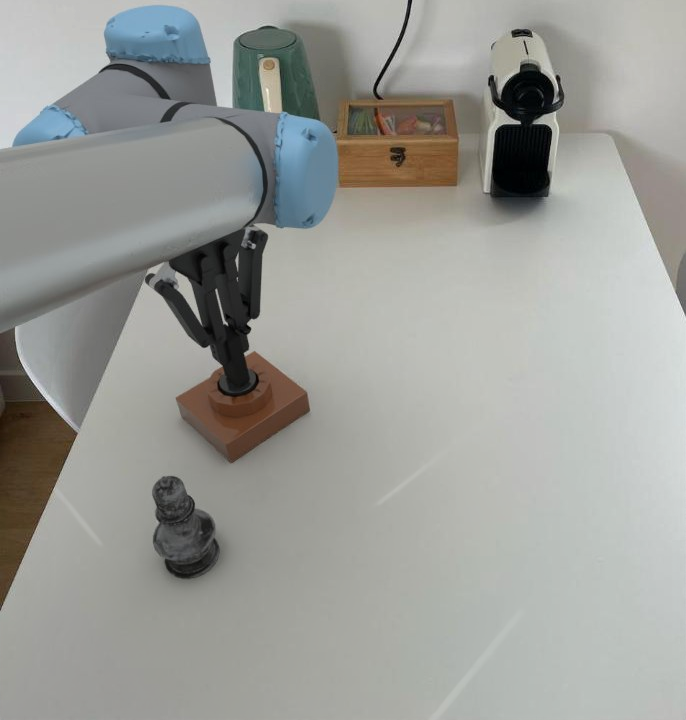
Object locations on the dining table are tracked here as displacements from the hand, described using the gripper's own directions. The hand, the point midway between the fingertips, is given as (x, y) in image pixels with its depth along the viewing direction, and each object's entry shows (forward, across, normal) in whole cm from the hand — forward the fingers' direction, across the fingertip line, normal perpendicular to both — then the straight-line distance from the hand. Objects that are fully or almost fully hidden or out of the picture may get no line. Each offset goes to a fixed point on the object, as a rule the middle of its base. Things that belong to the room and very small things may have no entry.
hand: (237, 377), depth 89 cm
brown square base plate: (+6, 0, 0) cm, 6 cm away
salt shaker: (+6, +15, +12) cm, 20 cm away
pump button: (+2, 0, 0) cm, 2 cm away
